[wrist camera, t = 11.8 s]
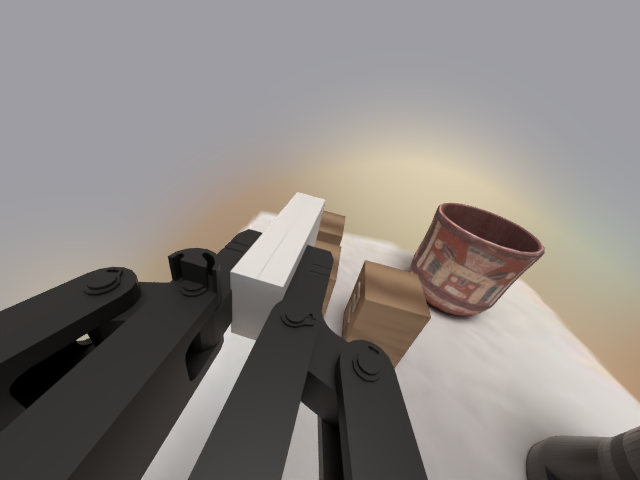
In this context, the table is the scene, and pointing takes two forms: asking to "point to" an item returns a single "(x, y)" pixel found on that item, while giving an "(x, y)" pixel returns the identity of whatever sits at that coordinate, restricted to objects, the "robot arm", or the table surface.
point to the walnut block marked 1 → (331, 228)
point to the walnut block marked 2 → (386, 309)
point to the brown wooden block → (336, 255)
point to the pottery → (471, 258)
